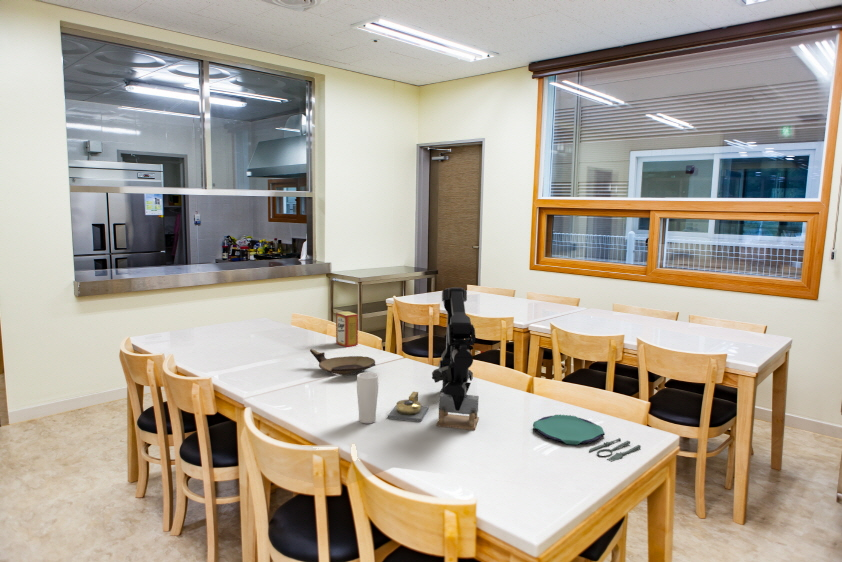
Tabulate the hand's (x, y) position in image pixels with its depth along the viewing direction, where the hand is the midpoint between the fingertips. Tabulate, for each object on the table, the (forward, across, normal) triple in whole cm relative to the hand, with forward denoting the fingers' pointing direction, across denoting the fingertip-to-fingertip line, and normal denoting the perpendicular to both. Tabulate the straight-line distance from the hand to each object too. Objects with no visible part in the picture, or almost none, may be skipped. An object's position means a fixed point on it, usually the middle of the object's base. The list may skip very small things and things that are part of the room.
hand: (458, 408), depth 175 cm
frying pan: (+5, -42, -55) cm, 70 cm away
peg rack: (+5, 0, 0) cm, 5 cm away
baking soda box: (+5, -85, -70) cm, 111 cm away
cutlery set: (+5, +2, +38) cm, 38 cm away
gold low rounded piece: (+3, -6, -17) cm, 18 cm away
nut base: (+5, -3, -17) cm, 18 cm away
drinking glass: (+5, +7, -28) cm, 29 cm away
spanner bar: (+1, 0, 0) cm, 1 cm away
